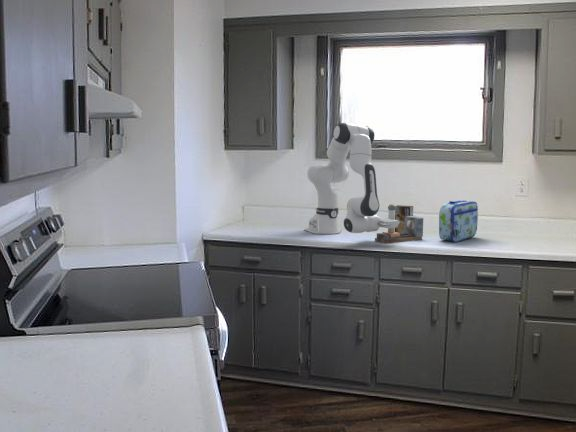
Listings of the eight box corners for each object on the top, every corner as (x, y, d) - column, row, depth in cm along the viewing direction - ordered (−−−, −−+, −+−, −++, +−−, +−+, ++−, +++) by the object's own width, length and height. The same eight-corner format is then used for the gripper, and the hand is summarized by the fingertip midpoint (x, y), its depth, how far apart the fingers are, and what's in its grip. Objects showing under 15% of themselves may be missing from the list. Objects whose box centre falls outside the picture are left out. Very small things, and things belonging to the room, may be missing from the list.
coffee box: (413, 234, 350) (414, 205, 348) (409, 236, 344) (410, 207, 342) (397, 233, 354) (398, 204, 352) (393, 234, 348) (394, 206, 346)
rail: (374, 240, 329) (374, 218, 327) (409, 236, 342) (410, 215, 341) (386, 243, 321) (387, 221, 319) (422, 239, 334) (423, 217, 332)
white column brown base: (382, 235, 330) (382, 204, 327) (390, 234, 333) (391, 203, 330) (391, 237, 324) (391, 205, 321) (399, 236, 327) (400, 204, 325)
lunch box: (453, 243, 321) (455, 203, 318) (435, 241, 329) (437, 201, 326) (479, 237, 339) (481, 199, 336) (461, 235, 347) (463, 197, 344)
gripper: (385, 219, 311) (406, 217, 318) (359, 214, 328) (380, 212, 336) (385, 231, 312) (406, 229, 319) (359, 226, 329) (379, 224, 336)
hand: (392, 220), depth 328 cm, fingers open, 8 cm apart
